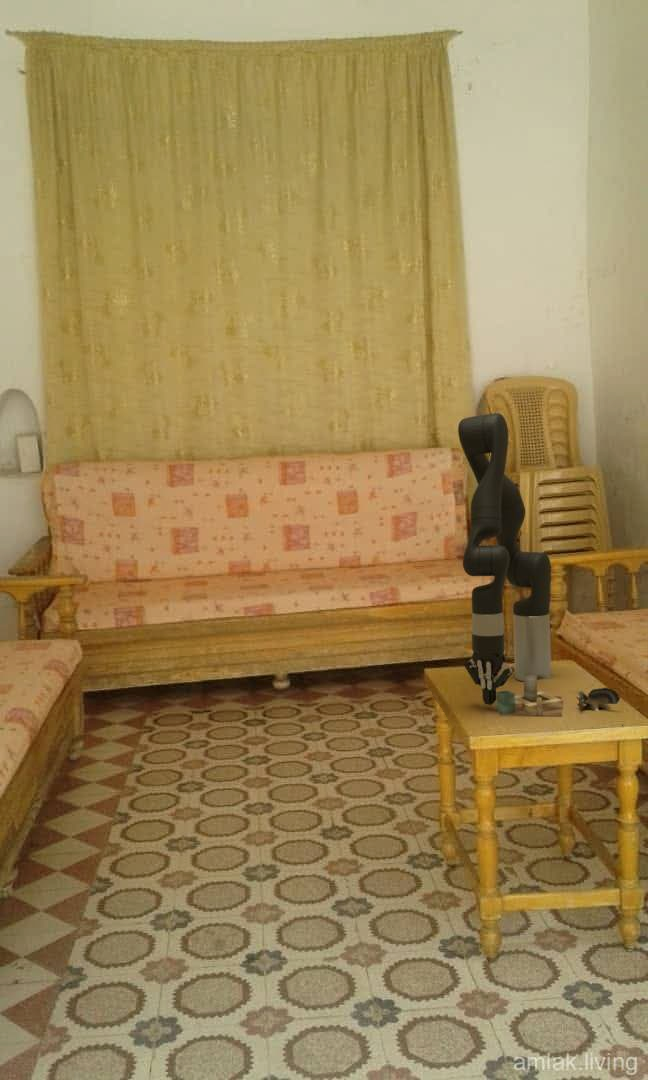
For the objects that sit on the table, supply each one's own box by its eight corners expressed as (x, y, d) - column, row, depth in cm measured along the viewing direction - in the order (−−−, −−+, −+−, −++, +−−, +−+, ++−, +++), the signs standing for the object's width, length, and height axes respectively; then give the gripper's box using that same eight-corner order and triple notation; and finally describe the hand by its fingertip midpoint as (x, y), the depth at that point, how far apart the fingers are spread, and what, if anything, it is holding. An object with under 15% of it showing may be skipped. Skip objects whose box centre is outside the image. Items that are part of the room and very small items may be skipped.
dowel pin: (537, 714, 239) (536, 697, 238) (542, 714, 239) (541, 697, 238) (536, 716, 238) (536, 698, 237) (542, 716, 237) (541, 699, 237)
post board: (502, 700, 256) (501, 667, 255) (561, 700, 253) (560, 667, 252) (499, 721, 240) (498, 686, 239) (562, 721, 237) (561, 686, 236)
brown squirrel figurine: (584, 716, 236) (624, 707, 236) (575, 686, 239) (614, 677, 239) (581, 725, 243) (619, 716, 243) (572, 696, 246) (610, 687, 246)
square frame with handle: (541, 698, 251) (541, 680, 251) (563, 707, 243) (562, 689, 242) (490, 707, 246) (489, 689, 246) (510, 717, 238) (510, 698, 237)
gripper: (454, 630, 245) (456, 703, 247) (503, 637, 236) (504, 712, 238) (473, 624, 250) (475, 695, 253) (521, 631, 241) (522, 704, 244)
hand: (489, 703), depth 245 cm, fingers closed
